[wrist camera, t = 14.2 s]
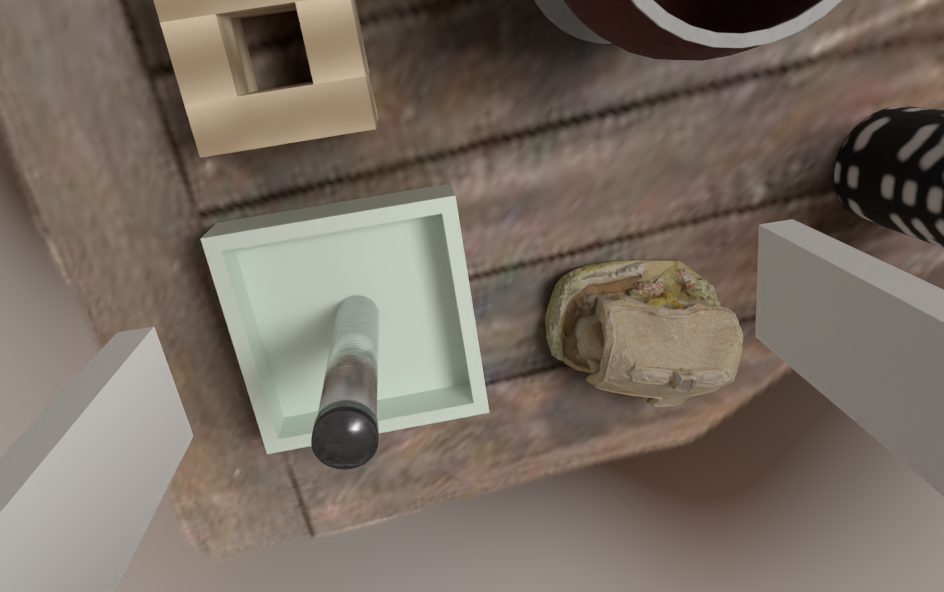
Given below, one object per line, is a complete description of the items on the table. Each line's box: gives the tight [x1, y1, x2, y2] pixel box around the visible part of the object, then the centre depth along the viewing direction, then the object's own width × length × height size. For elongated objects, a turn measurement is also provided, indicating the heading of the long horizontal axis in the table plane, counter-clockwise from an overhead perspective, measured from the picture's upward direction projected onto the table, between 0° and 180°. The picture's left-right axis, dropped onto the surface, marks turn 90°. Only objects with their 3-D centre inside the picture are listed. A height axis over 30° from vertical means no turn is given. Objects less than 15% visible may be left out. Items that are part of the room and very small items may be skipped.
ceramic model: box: [545, 260, 743, 407], centre depth 46 cm, size 14×11×10 cm
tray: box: [201, 184, 489, 454], centre depth 46 cm, size 16×16×4 cm
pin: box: [311, 295, 379, 469], centre depth 39 cm, size 3×3×16 cm
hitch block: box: [153, 0, 378, 158], centre depth 38 cm, size 10×10×6 cm
